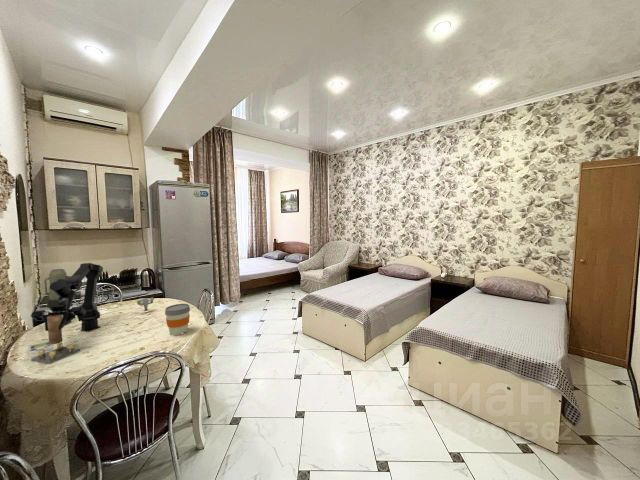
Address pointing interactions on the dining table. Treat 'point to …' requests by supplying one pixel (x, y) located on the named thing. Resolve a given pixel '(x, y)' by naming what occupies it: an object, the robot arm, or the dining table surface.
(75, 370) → the dining table surface
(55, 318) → the walnut post
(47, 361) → the chassis plate
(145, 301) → the mechanical component
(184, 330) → the reusable coffee cup
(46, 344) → the handheld gaming device
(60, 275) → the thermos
